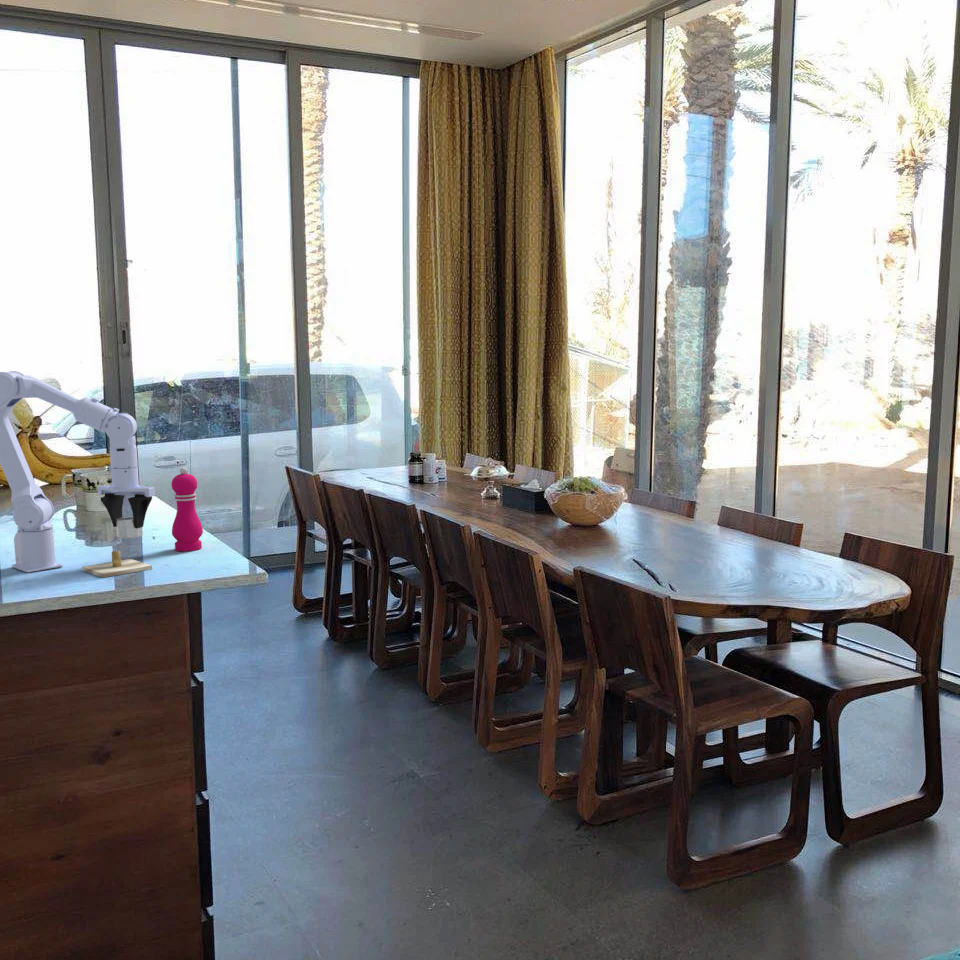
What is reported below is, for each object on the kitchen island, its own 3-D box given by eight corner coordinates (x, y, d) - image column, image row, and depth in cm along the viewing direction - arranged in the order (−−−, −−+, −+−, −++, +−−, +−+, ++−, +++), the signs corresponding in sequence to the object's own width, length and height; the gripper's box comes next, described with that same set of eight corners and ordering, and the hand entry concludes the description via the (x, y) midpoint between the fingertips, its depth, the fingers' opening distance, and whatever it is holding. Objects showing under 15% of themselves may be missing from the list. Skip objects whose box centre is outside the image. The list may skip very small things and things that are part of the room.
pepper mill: (210, 547, 241) (205, 466, 238) (187, 553, 235) (182, 469, 232) (189, 545, 245) (184, 465, 242) (166, 550, 239) (161, 468, 236)
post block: (82, 570, 218) (80, 552, 218) (129, 562, 226) (128, 544, 225) (103, 577, 210) (102, 559, 210) (152, 568, 218) (151, 551, 218)
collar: (115, 535, 225) (114, 518, 225) (139, 532, 228) (137, 515, 227) (120, 539, 221) (119, 521, 220) (144, 536, 223) (143, 518, 223)
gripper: (85, 468, 221) (90, 528, 223) (138, 470, 216) (142, 531, 217) (108, 465, 227) (112, 523, 229) (159, 466, 222) (163, 526, 224)
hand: (128, 526), depth 224 cm, fingers closed on collar, 5 cm apart
